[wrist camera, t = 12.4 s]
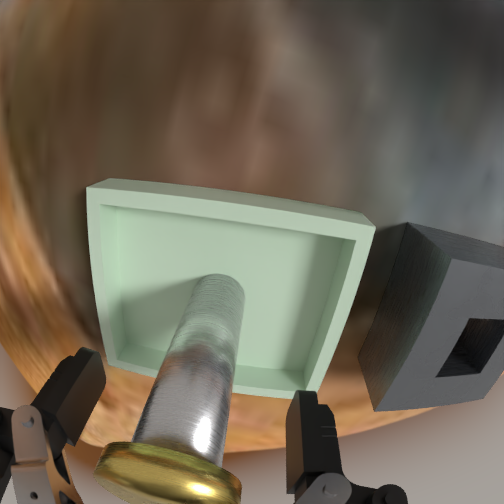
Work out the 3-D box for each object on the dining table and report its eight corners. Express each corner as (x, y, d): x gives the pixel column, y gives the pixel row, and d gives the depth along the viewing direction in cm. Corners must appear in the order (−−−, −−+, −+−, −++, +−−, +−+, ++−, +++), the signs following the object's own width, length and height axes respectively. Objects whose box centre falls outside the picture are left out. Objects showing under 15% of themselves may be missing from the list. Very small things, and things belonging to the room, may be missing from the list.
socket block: (510, 249, 15) (551, 280, 11) (458, 357, 19) (483, 398, 15) (407, 222, 15) (452, 258, 11) (357, 357, 19) (373, 411, 14)
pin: (263, 268, 16) (248, 496, 5) (252, 332, 18) (232, 527, 7) (183, 256, 16) (73, 451, 5) (181, 320, 18) (112, 500, 7)
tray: (361, 212, 15) (376, 227, 13) (310, 374, 20) (313, 400, 18) (109, 178, 15) (86, 187, 13) (121, 342, 20) (108, 364, 18)
